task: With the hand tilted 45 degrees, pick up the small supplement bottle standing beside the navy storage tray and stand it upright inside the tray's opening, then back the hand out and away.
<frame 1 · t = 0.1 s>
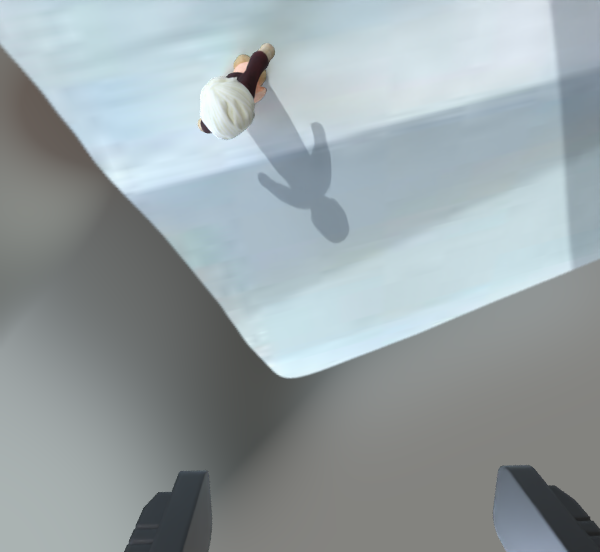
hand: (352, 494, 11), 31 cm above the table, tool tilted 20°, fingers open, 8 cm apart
grandmother figurine: (245, 77, 34), on the table
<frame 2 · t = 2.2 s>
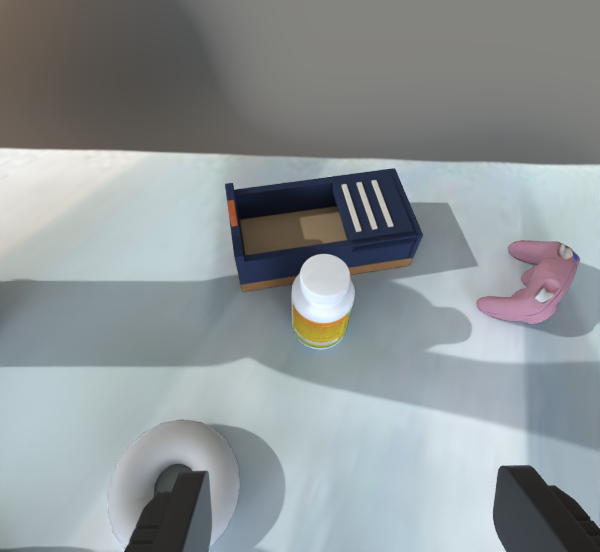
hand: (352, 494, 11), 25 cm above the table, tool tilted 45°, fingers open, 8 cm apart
navy storage tray: (318, 244, 46), on the table
video game controller: (515, 292, 43), on the table
supplement bottle: (319, 325, 41), on the table
donut: (180, 488, 34), on the table
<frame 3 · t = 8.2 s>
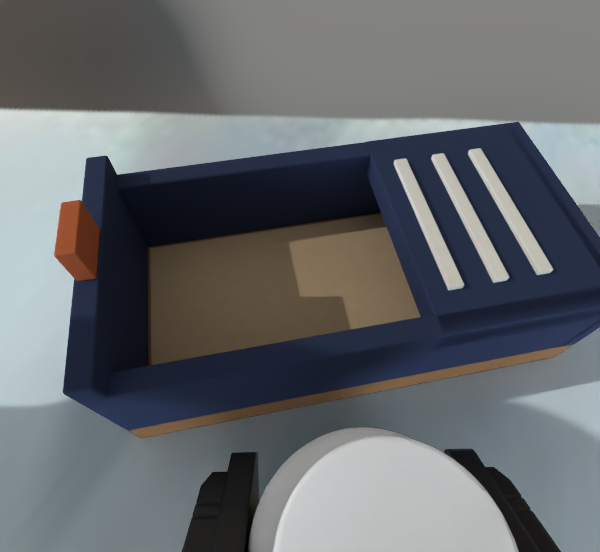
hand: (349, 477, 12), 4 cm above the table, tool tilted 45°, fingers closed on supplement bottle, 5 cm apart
navy storage tray: (334, 302, 20), on the table
supplement bottle: (340, 545, 15), on the table, touching gripper
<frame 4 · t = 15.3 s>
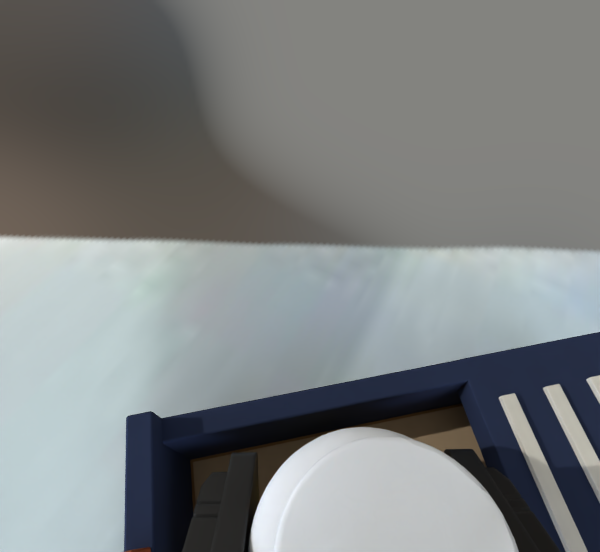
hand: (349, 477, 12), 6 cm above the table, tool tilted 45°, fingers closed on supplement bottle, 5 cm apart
navy storage tray: (409, 520, 17), on the table
supplement bottle: (341, 545, 15), point 2 cm above the table, touching gripper
when the fingers open (7 cm above the table, at t = 22.2 s): supplement bottle stays where it is, resting on navy storage tray.
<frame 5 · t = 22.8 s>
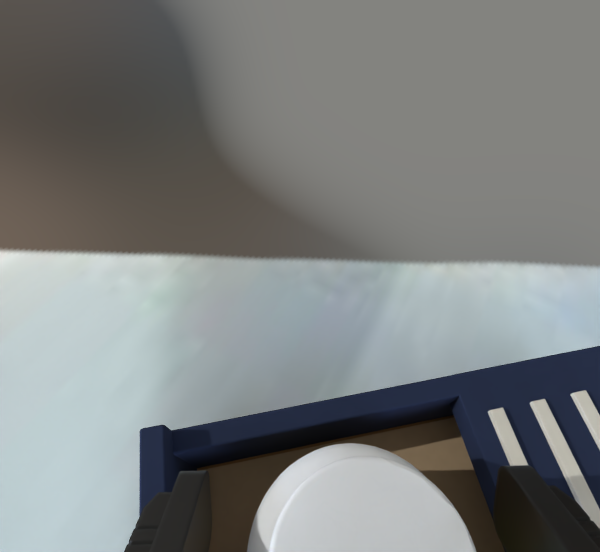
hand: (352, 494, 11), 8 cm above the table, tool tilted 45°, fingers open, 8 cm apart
navy storage tray: (405, 526, 18), on the table
supplement bottle: (333, 548, 16), point 1 cm above the table, touching navy storage tray
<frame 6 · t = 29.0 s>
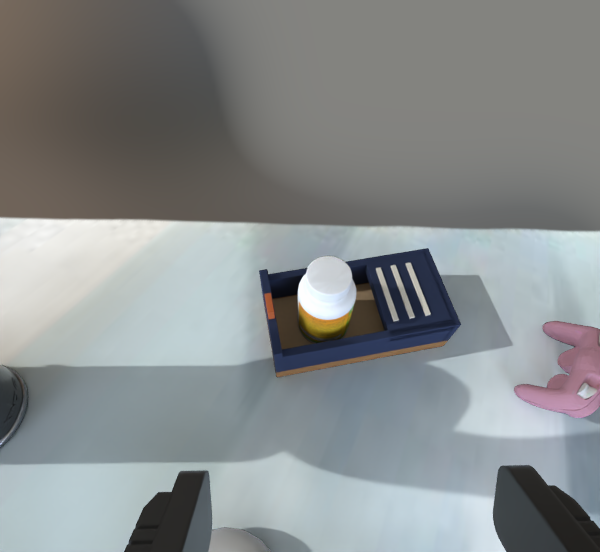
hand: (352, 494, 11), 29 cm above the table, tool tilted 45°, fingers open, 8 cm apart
navy storage tray: (351, 322, 45), on the table
video game controller: (552, 374, 43), on the table
supplement bottle: (323, 323, 44), point 1 cm above the table, touching navy storage tray
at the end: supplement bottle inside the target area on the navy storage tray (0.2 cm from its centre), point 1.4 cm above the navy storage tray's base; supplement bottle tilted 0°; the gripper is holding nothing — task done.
